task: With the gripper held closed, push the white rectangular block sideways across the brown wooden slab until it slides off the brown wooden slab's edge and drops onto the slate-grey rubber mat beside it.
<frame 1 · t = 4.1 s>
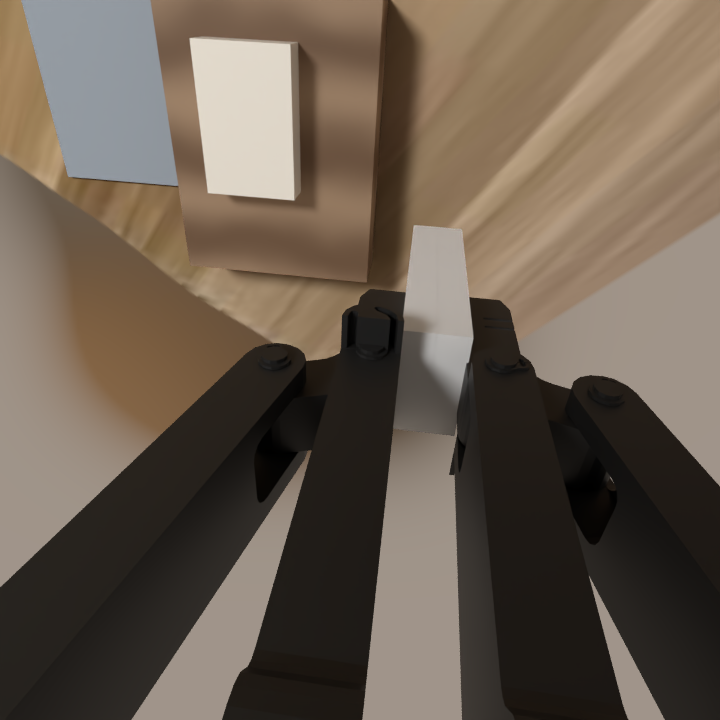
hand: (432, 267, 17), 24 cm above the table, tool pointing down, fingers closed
brown wooden slab: (285, 139, 39), on the table
mat: (117, 91, 38), on the table
white rectangular block: (254, 119, 34), point 4 cm above the table, touching brown wooden slab
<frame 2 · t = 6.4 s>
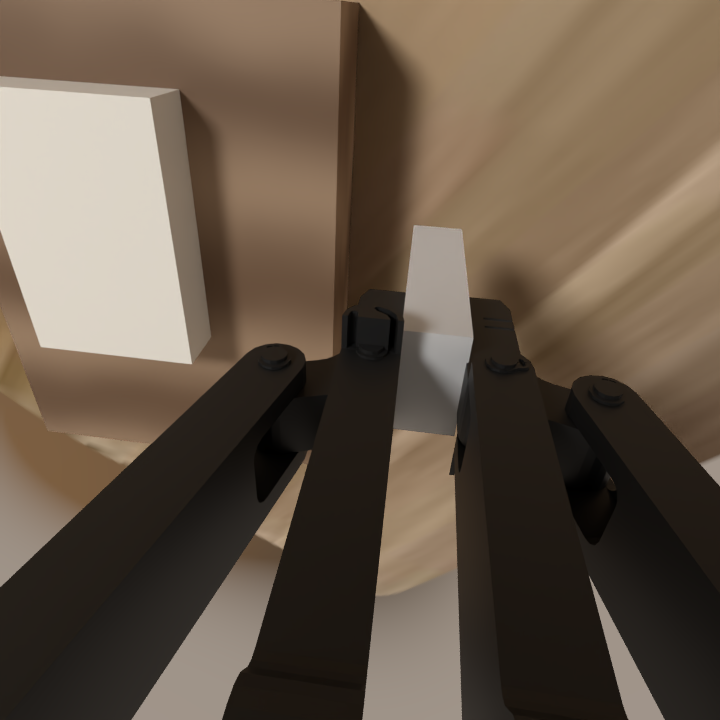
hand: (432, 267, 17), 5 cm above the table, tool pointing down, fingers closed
brown wooden slab: (193, 238, 23), on the table
white rectangular block: (117, 222, 19), point 4 cm above the table, touching brown wooden slab
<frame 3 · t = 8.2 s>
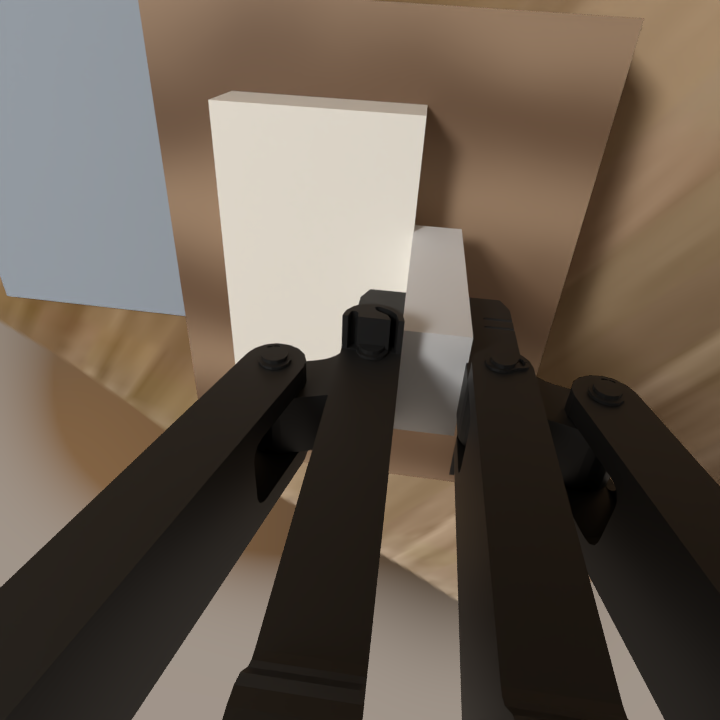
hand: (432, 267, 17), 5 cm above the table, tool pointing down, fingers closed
brown wooden slab: (373, 254, 23), on the table
mat: (84, 169, 22), on the table
white rectangular block: (326, 240, 18), point 4 cm above the table, touching brown wooden slab, gripper
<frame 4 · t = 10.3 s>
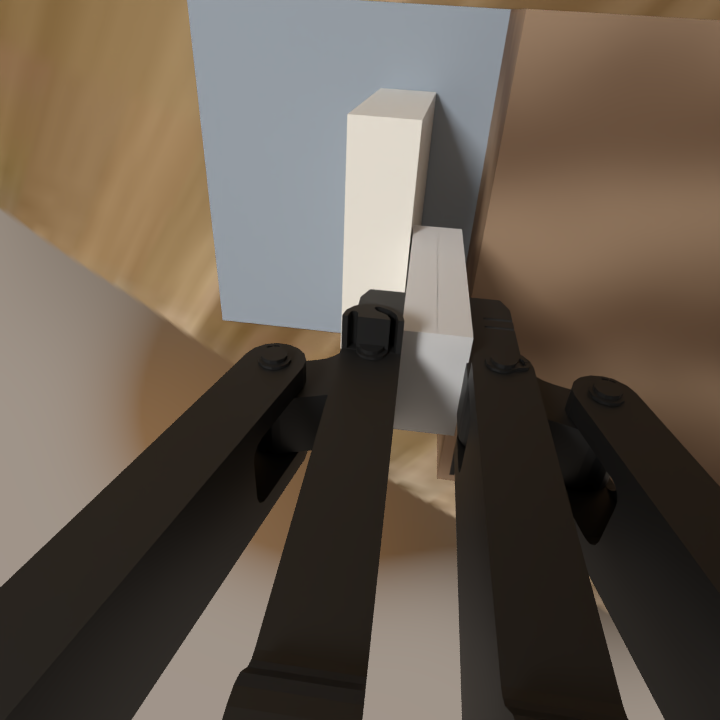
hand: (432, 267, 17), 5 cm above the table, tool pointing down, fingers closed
brown wooden slab: (633, 278, 22), on the table
mat: (340, 192, 21), on the table
white rectangular block: (415, 243, 19), point 3 cm above the table, tilted 93°, touching gripper, mat
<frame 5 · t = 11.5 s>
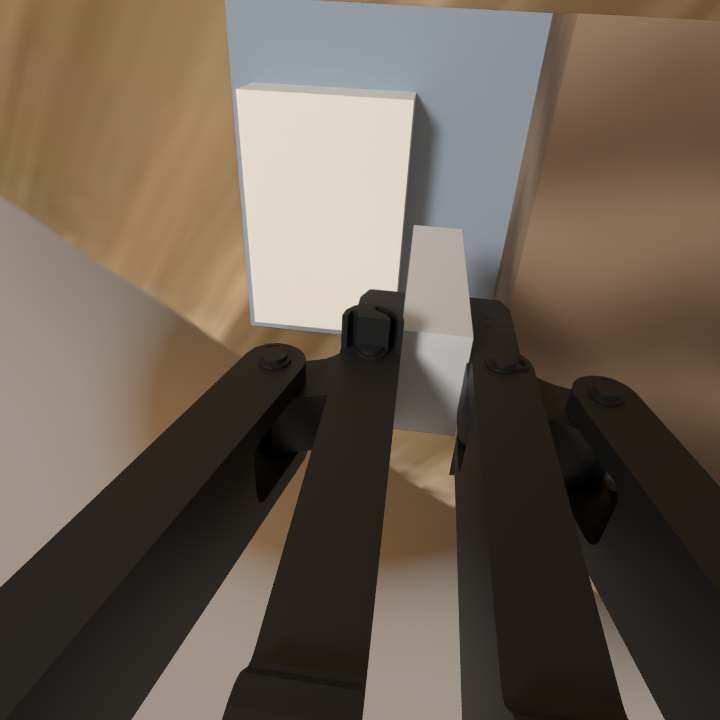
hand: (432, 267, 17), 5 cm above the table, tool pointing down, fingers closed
brown wooden slab: (668, 282, 22), on the table
mat: (373, 197, 21), on the table
white rectangular block: (323, 226, 20), point 2 cm above the table, tilted 180°, touching mat
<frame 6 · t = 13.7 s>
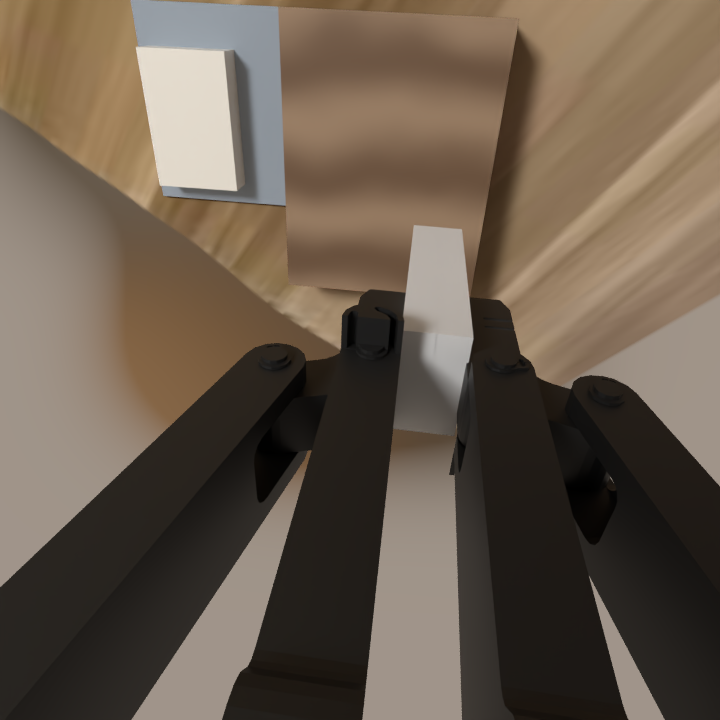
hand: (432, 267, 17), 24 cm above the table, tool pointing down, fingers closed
brown wooden slab: (390, 159, 39), on the table
mat: (222, 111, 38), on the table
white rectangular block: (189, 123, 37), point 2 cm above the table, tilted 180°, touching mat
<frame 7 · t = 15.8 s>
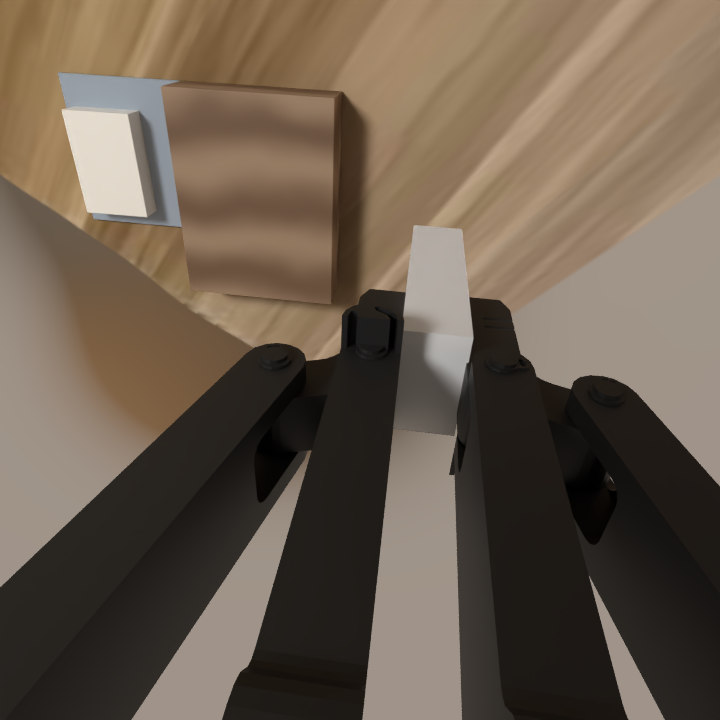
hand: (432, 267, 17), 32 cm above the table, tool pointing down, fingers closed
brown wooden slab: (266, 192, 49), on the table
mat: (134, 155, 49), on the table
white rectangular block: (106, 166, 47), point 2 cm above the table, tilted 180°, touching mat
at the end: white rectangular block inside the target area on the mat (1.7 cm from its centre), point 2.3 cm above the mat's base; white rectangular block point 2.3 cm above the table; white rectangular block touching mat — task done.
